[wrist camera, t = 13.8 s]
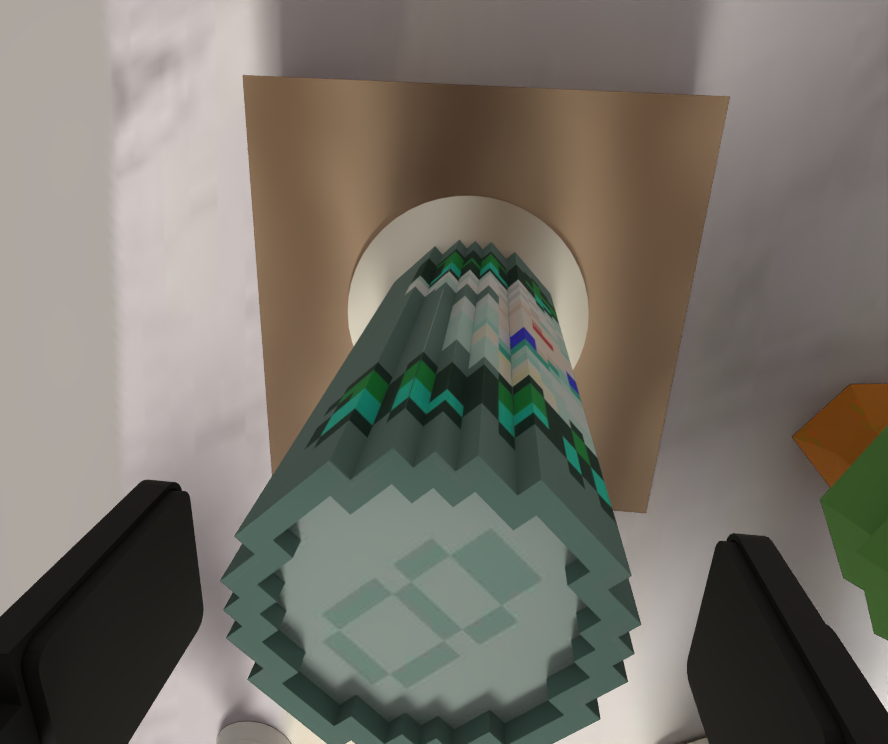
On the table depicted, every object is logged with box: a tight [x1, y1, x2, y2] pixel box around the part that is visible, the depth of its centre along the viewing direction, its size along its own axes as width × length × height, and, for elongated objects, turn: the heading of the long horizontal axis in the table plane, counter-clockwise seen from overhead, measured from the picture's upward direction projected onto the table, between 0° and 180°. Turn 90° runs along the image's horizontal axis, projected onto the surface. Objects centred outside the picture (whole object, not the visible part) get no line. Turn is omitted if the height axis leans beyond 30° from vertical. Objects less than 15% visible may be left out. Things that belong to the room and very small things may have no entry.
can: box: [220, 240, 641, 744], centre depth 16 cm, size 6×6×15 cm
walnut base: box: [243, 75, 730, 513], centre depth 25 cm, size 16×16×4 cm
